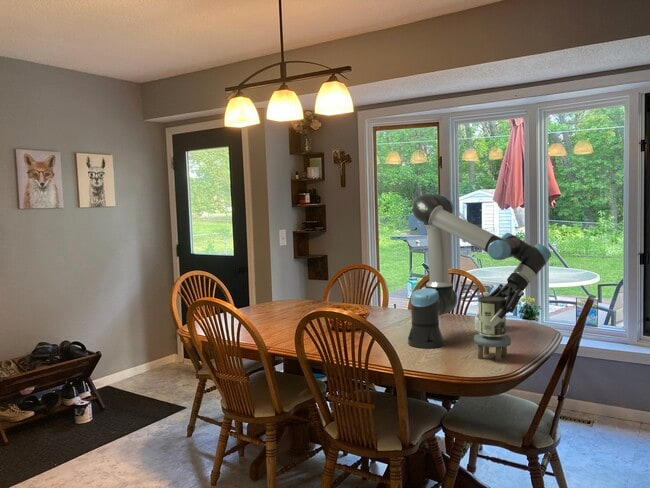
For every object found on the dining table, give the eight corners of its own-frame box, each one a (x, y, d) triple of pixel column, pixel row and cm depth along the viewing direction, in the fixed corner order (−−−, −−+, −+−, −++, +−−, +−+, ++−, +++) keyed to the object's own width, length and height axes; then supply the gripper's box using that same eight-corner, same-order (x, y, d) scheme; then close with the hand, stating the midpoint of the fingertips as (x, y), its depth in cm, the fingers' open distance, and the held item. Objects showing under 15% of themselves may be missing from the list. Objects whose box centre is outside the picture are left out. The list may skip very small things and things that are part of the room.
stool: (468, 359, 207) (468, 339, 207) (481, 350, 219) (481, 331, 218) (504, 364, 199) (504, 343, 198) (515, 355, 210) (515, 335, 210)
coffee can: (504, 330, 212) (504, 296, 211) (507, 337, 202) (507, 301, 201) (477, 330, 214) (477, 295, 213) (479, 336, 204) (479, 300, 203)
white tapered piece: (491, 334, 244) (491, 295, 242) (469, 329, 254) (468, 292, 253) (508, 329, 252) (508, 292, 250) (485, 324, 262) (485, 288, 260)
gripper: (544, 288, 199) (507, 333, 197) (510, 280, 221) (476, 320, 219) (532, 275, 198) (495, 320, 195) (498, 268, 220) (464, 308, 217)
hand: (485, 320), depth 207 cm, fingers closed on coffee can, 10 cm apart
